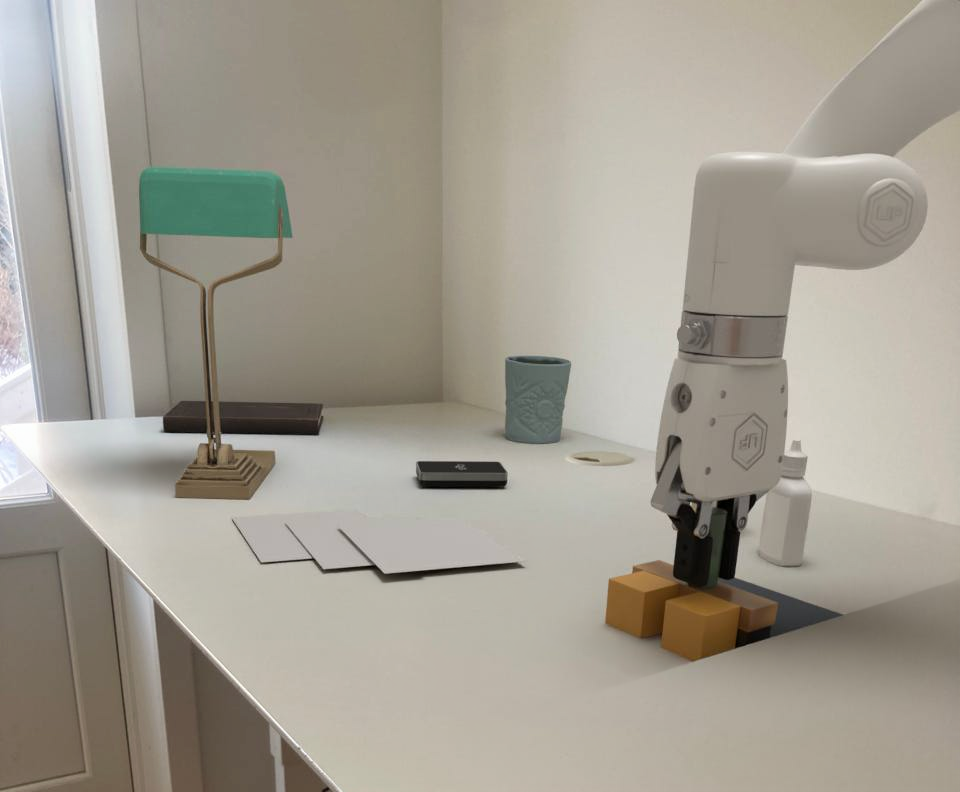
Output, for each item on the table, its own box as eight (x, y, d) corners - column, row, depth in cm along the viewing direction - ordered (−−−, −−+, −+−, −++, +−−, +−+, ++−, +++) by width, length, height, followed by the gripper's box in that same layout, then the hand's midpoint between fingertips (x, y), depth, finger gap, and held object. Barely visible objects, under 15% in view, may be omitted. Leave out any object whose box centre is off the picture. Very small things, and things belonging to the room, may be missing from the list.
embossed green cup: (517, 430, 166) (521, 353, 161) (576, 437, 162) (581, 359, 157) (490, 439, 157) (493, 359, 153) (551, 447, 153) (556, 365, 149)
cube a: (694, 638, 82) (700, 591, 80) (734, 654, 79) (741, 605, 77) (660, 649, 79) (665, 600, 78) (699, 666, 76) (705, 615, 75)
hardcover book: (181, 414, 168) (180, 400, 167) (323, 417, 171) (323, 403, 170) (163, 432, 154) (162, 417, 153) (318, 435, 156) (318, 420, 155)
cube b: (639, 615, 86) (643, 570, 85) (674, 630, 83) (679, 583, 82) (604, 624, 84) (608, 578, 82) (640, 640, 81) (644, 592, 79)
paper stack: (279, 590, 89) (279, 582, 88) (231, 517, 110) (231, 511, 110) (525, 567, 97) (526, 560, 97) (436, 504, 118) (436, 498, 118)
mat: (719, 574, 98) (719, 572, 98) (889, 632, 84) (889, 630, 84) (613, 600, 90) (613, 598, 90) (782, 668, 76) (783, 666, 76)
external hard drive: (415, 476, 132) (415, 460, 131) (500, 476, 134) (501, 461, 133) (419, 488, 126) (419, 472, 125) (508, 489, 127) (509, 473, 126)
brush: (655, 596, 89) (666, 490, 85) (772, 642, 80) (790, 526, 76) (629, 602, 87) (639, 495, 83) (745, 651, 78) (763, 532, 74)
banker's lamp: (143, 496, 118) (113, 161, 105) (185, 459, 137) (164, 172, 124) (281, 499, 118) (268, 166, 105) (304, 462, 138) (295, 176, 125)
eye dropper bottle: (754, 564, 101) (771, 443, 96) (758, 549, 106) (775, 433, 101) (800, 570, 100) (820, 447, 95) (802, 555, 105) (821, 437, 100)
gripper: (695, 349, 68) (668, 611, 74) (841, 341, 77) (804, 574, 84) (616, 338, 73) (597, 583, 80) (760, 331, 82) (732, 551, 89)
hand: (703, 576), depth 82 cm, fingers closed on brush, 2 cm apart
